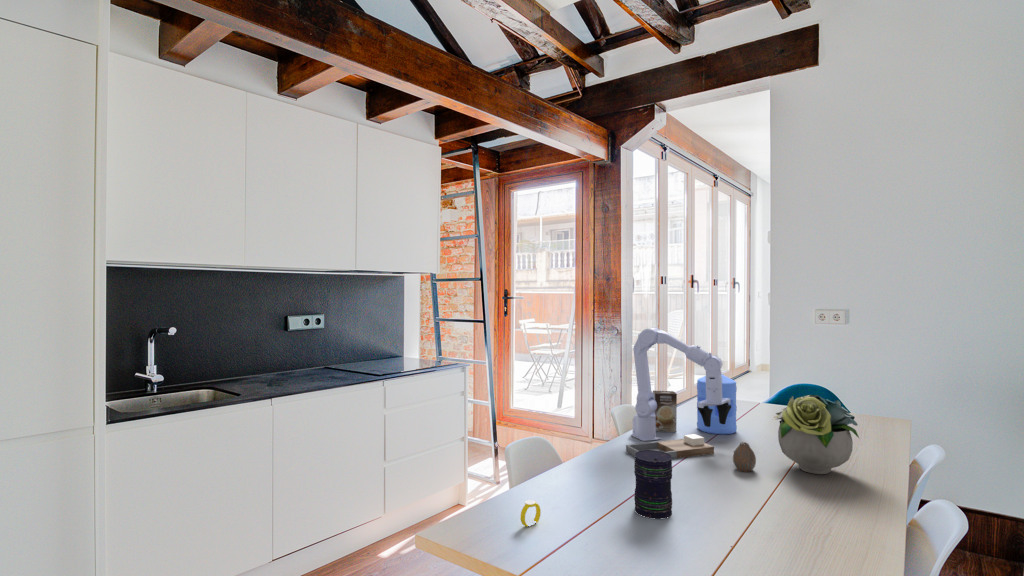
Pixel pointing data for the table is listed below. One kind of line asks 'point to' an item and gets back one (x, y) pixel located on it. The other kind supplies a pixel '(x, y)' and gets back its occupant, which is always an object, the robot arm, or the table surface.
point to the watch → (527, 504)
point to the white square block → (694, 439)
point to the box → (647, 448)
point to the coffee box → (666, 410)
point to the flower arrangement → (816, 433)
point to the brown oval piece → (744, 457)
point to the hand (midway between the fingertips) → (714, 425)
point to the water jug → (716, 426)
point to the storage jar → (653, 484)
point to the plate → (685, 448)
